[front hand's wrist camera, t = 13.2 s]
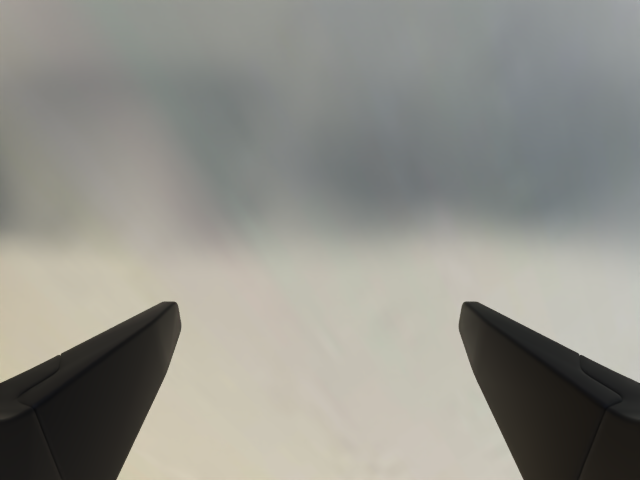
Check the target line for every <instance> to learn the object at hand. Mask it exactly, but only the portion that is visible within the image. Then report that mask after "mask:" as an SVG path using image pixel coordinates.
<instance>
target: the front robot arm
mask: <svg viewBox="0 0 640 480" xmlns="http://www.w3.org/2000/svg"><path fill="white" fill-rule="evenodd" d="M180 332H181V320H180V314H179V308H178V305H177V303H176V302H161V303H159V304H157V305H155V306H154V307H152V308H150V309H148V310H146V311H144V312H142V313H140V314H138V315H136V316H134V317H132V318H130V319H128V320H126V321H124V322H122V323H120V324H118V325H116V326H114V327H112V328H110V329H109V330H107V331H105V332H103V333H101V334H99V335H97V336H95V337H93V338H91V339H89V340H87V341H85V342H83V343H81V344H79V345H77V346H75V347H73V348H71V349H69V350H67V351H65V352H63V353H62V354H61V356H60V355H57V356H55V357H54V358H52V359H50V360H48V361H46V362H44V363H42V364H40V365H38V366H36V367H34V368H32V369H30V370H28V371H25V372H23V373H21V374H19V375H17V376H15V377H13V378H10V379H8V380H6V381H4V382H2V383H0V480H116V479H117V477H118V475H119V473H120V471H121V469H122V467H123V465H124V462H125V460H126V458H127V456H128V454H129V452H130V450H131V448H132V445H133V443H134V441H135V439H136V437H137V435H138V433H139V431H140V428H141V426H142V424H143V422H144V420H145V418H146V416H147V414H148V412H149V409H150V407H151V405H152V403H153V401H154V399H155V397H156V395H157V392H158V390H159V388H160V386H161V384H162V382H163V380H164V377H165V375H166V373H167V370H168V367H169V365H170V362H171V359H172V356H173V353H174V350H175V347H176V344H177V341H178V338H179V335H180ZM459 332H460V335H461V338H462V341H463V344H464V347H465V350H466V353H467V356H468V359H469V362H470V365H471V367H472V370H473V373H474V375H475V377H476V380H477V382H478V384H479V386H480V388H481V390H482V392H483V395H484V397H485V399H486V401H487V403H488V405H489V407H490V409H491V412H492V414H493V416H494V418H495V420H496V422H497V424H498V426H499V428H500V431H501V433H502V435H503V437H504V439H505V441H506V443H507V445H508V448H509V450H510V452H511V454H512V456H513V458H514V460H515V462H516V465H517V467H518V469H519V471H520V473H521V475H522V477H523V479H524V480H640V383H638V382H636V381H634V380H632V379H630V378H628V377H625V376H623V375H621V374H619V373H617V372H615V371H612V370H610V369H608V368H606V367H604V366H602V365H600V364H598V363H596V362H594V361H592V360H590V359H588V358H586V357H585V356H583V355H580V356H579V354H578V353H577V352H575V351H573V350H571V349H569V348H567V347H565V346H563V345H561V344H559V343H557V342H555V341H553V340H551V339H549V338H547V337H545V336H543V335H541V334H539V333H537V332H535V331H533V330H531V329H530V328H528V327H526V326H524V325H522V324H520V323H518V322H516V321H514V320H512V319H510V318H508V317H506V316H504V315H502V314H500V313H498V312H496V311H494V310H492V309H490V308H488V307H486V306H485V305H483V304H481V303H479V302H464V303H463V305H462V308H461V314H460V320H459Z"/></svg>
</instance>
